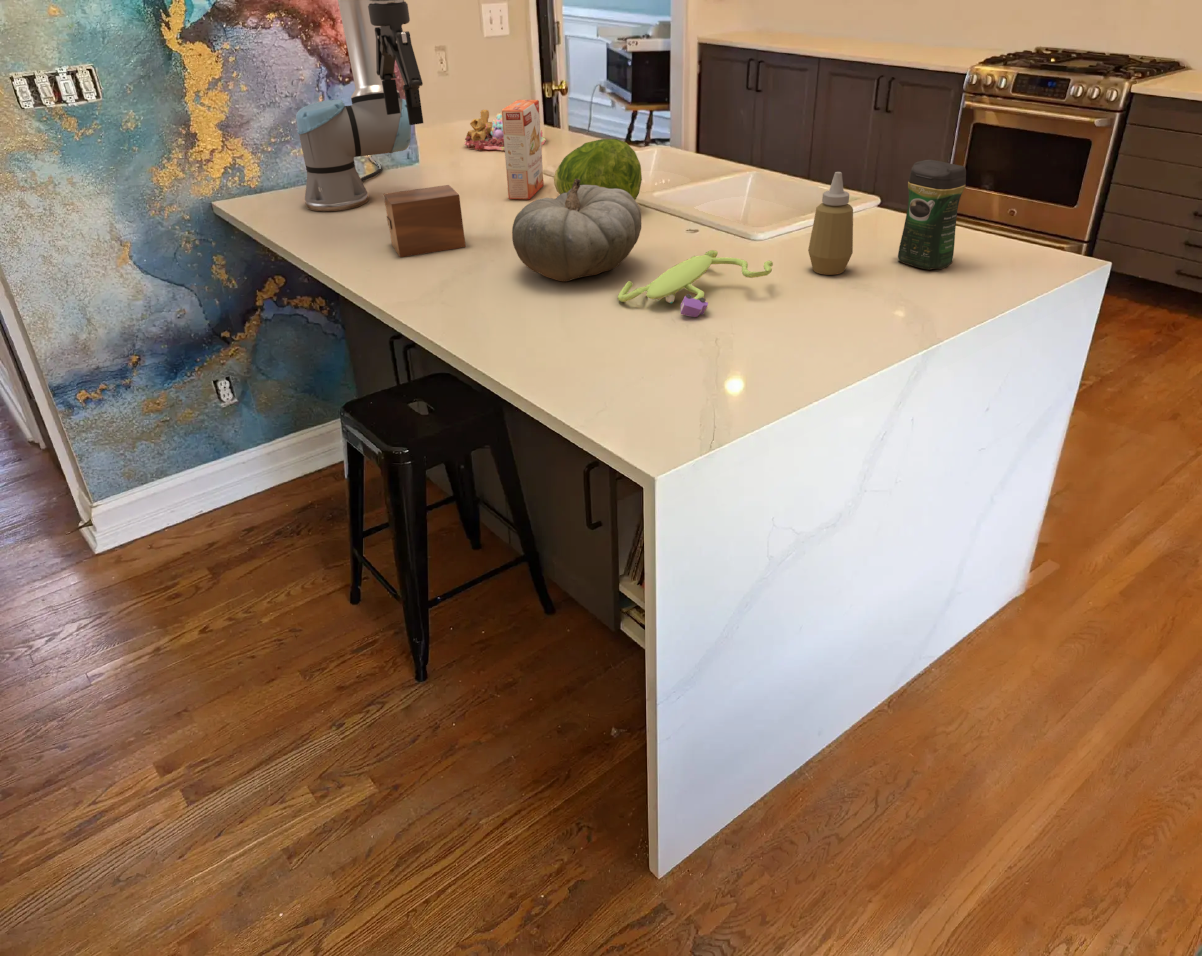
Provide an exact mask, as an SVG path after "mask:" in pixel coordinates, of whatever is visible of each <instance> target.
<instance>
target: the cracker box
mask: <svg viewBox="0 0 1202 956" xmlns="http://www.w3.org/2000/svg"><path fill="white" fill-rule="evenodd" d="M501 113H502V124H503V136H504V148H505V150H504V159H505V170H506V171H505V172H506V182H507V196H508V200H526V201H527V200H531V199H532V198H533V197H534V195H536V194H537V193H538V192H539V191H540V190H541V188H543V187H544V182H545V181H544V168H543V152H542V150H543V149H542V145H541V115H540V114H541V113H540V101H539V99H517V100H515V101H514V102H511V104H509V105H507V106H505V107H504V108H503V109H501Z"/></svg>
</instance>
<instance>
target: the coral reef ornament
mask: <svg viewBox="0 0 1202 956" xmlns="http://www.w3.org/2000/svg"><path fill="white" fill-rule="evenodd" d="M479 112H480V113H479V114H480V118H473V119H472V120H471V121H470V122H469V125H470V127H471V128H472V129H470V130H468V131H467V133H466V137H465V138H464V140H465V141H464V146H467V148H470V147H474V150H489V151H490V150H498V151H505V148H504V136H503V124H502V112H498V113H497V114H496V116H495V118H493V119H492V121H489V118H490V111H489V110H488V109H481V110H480V111H479ZM540 131H541V146H543V145H545V143H546V138H545V137H544V136H543V129H540Z"/></svg>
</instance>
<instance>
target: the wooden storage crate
mask: <svg viewBox="0 0 1202 956" xmlns="http://www.w3.org/2000/svg"><path fill="white" fill-rule="evenodd" d="M460 198H461V197H460V194H459V193H458V192H457V191H456V190H455V189H454V188H453V187H452V186H451V185H450V184H444V185H438V186H430V187H423V188H414V189H408V190H401V191H395V192H386V193H383V200H384V205H385V211H386V221H387V226H388V229H389V235H390V240H391V246H392V248H393V249H394V250H395V252H396V254H397V255H398V256H399V258H407V257H411V256H418V255H424V254H431V253H438V252H443V251H448V250H449V251H450V250H456V249H462V248H466V239H465V231H464V223H463V222H464V221H463V215H462V208H461V199H460Z"/></svg>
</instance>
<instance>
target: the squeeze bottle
mask: <svg viewBox="0 0 1202 956" xmlns="http://www.w3.org/2000/svg"><path fill="white" fill-rule="evenodd" d="M821 202H822V203H820V204H819V205H818V206H816V208H815V213H814V218H813V223H812V229H811V235H810V239H809V244H808V249H807V251H808V256H809V259H810V264H811V267H812V271H813V272H814V273H817V274H820V275H825V276H826V275H827V276H835V275H840V274H842V273H844V272H845V270H846V268H847V266H848V264H849V262H850V261H851V258H852V255H853V254H854V253H853V251H854V250H853V249H854V207H853V206H852V205H851V204H849V202H850V193H849V192H848V191H845V189H844V182H843V173H842V172H841V171H835V172H834V174H833V177H832V181H831V184H830V186H829V190H826V191H824V192H822V199H821Z"/></svg>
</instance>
